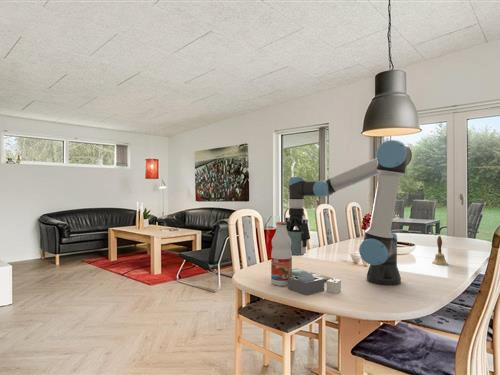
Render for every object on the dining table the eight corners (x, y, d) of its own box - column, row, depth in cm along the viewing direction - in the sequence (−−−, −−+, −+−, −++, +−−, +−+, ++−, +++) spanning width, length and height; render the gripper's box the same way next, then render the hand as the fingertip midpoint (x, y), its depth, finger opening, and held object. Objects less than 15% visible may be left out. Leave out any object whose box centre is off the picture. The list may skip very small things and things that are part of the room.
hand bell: (432, 264, 198) (432, 236, 198) (431, 261, 206) (431, 235, 206) (449, 265, 195) (449, 237, 195) (447, 263, 203) (447, 235, 203)
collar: (324, 290, 148) (324, 278, 148) (306, 295, 141) (306, 283, 141) (305, 284, 156) (305, 273, 156) (287, 288, 150) (287, 277, 150)
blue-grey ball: (317, 288, 148) (317, 271, 148) (306, 291, 144) (306, 273, 144) (305, 284, 154) (305, 268, 154) (294, 287, 149) (294, 270, 149)
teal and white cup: (286, 252, 180) (286, 229, 180) (305, 252, 179) (306, 229, 179) (285, 255, 170) (285, 231, 170) (306, 256, 169) (306, 232, 169)
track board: (332, 280, 164) (332, 277, 164) (314, 284, 156) (314, 282, 156) (296, 270, 184) (296, 267, 184) (277, 273, 176) (277, 271, 176)
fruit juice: (296, 283, 158) (296, 222, 158) (282, 287, 151) (283, 223, 151) (280, 279, 165) (280, 221, 165) (266, 283, 158) (267, 222, 158)
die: (340, 290, 147) (340, 280, 147) (336, 293, 144) (336, 282, 144) (331, 288, 150) (331, 278, 150) (326, 291, 146) (326, 280, 146)
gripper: (318, 208, 168) (317, 254, 168) (286, 206, 186) (286, 247, 186) (307, 209, 163) (307, 256, 163) (276, 206, 181) (275, 249, 181)
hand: (296, 251), depth 175 cm, fingers closed on teal and white cup, 10 cm apart
